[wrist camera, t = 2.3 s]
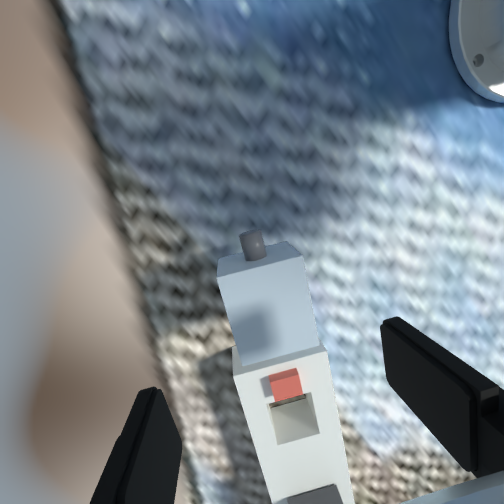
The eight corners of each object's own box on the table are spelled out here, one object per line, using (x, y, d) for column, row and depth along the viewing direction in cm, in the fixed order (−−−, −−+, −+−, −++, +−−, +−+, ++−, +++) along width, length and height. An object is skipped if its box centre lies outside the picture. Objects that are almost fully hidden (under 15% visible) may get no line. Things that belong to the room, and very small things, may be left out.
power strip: (231, 346, 24) (233, 383, 20) (311, 325, 25) (330, 357, 20) (281, 512, 31) (291, 569, 26) (343, 493, 31) (364, 547, 26)
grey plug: (215, 227, 21) (208, 250, 14) (271, 213, 22) (297, 228, 14) (236, 306, 23) (242, 366, 16) (288, 292, 24) (319, 345, 16)
